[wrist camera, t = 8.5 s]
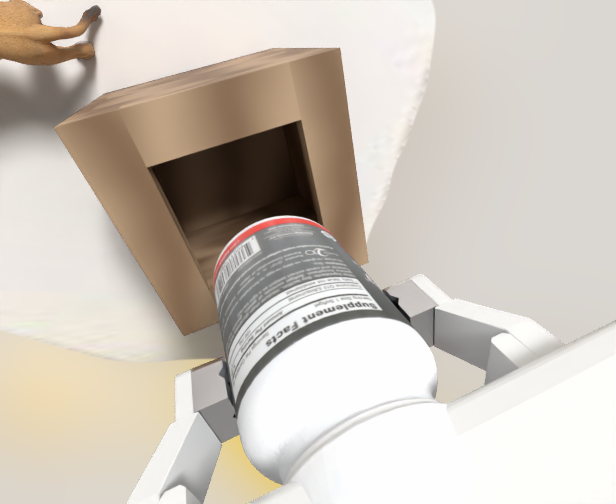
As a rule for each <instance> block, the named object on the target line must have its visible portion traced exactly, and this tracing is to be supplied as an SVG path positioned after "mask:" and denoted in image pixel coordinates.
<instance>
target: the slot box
mask: <svg viewBox="0 0 616 504" xmlns="http://www.w3.org/2000/svg"><path fill="white" fill-rule="evenodd" d="M54 129H55V131H56V132H57V134H58V135H59V137H60V139H61V140H62V142H63V143H64V145H65V147H66V148H67V150H68V151H69V153H70V155H71V156H72V158H73V159H74V161H75V163H76V164H77V166H78V167H79V169H80V171H81V172H82V174H83V175H84V177H85V179H86V180H87V182H88V183H89V185H90V187H91V188H92V190H93V191H94V193H95V195H96V196H97V198H98V199H99V201H100V203H101V204H102V206H103V207H104V209H105V211H106V212H107V214H108V215H109V217H110V219H111V220H112V222H113V223H114V225H115V227H116V228H117V230H118V231H119V233H120V235H121V236H122V238H123V239H124V241H125V243H126V244H127V246H128V247H129V249H130V251H131V252H132V254H133V255H134V257H135V259H136V260H137V262H138V263H139V265H140V267H141V268H142V270H143V271H144V273H145V275H146V276H147V278H148V279H149V281H150V283H151V284H152V286H153V287H154V289H155V291H156V292H157V294H158V295H159V297H160V299H161V300H162V302H163V303H164V305H165V307H166V308H167V310H168V311H169V313H170V315H171V316H172V318H173V319H174V321H175V323H176V324H177V326H178V327H179V329H180V331H181V332H182V334H183V335H184V336H185V335H188V334H190V333H193V332H195V331H198V330H200V329H203V328H205V327H208V326H210V325H213V324H215V323H218V322H219V318H218V313H217V307H216V301H215V296H214V290H213V276H214V270H215V266H216V263H217V260H218V258H219V256H220V254H221V252H222V251H223V249H224V248H225V246H226V245H227V244H228V243H229V242H230V241H231V240H232V239H233V238H234V237H235V236H236V235H237V234H238V233H239V232H241V231H242V230H243V229H245V228H246V227H248V226H250V225H252V224H254V223H256V222H258V221H261V220H264V219H267V218H271V217H276V216H297V217H303V218H307V219H310V220H312V221H314V222H316V223H318V224H320V225H321V226H323V227H324V228H325V229H327V230H328V231H329V232H330V233H331V234H332V235H333V236H334V237H335V238H336V239H337V240H338V241H339V243H340V244H341V245H342V246H343V247H344V248H345V249H346V251H347V252H348V253H349V254H350V255H351V256H352V257H353V258H354V260H355V261H356V262H357V263H358V264H359V265H360V266H361V265H363V264H366V263H368V255H367V247H366V240H365V232H364V225H363V217H362V209H361V202H360V194H359V187H358V179H357V172H356V164H355V157H354V149H353V142H352V134H351V126H350V119H349V111H348V104H347V96H346V89H345V81H344V74H343V66H342V59H341V51H340V48H272V49H269V50H265V51H261V52H257V53H254V54H250V55H246V56H243V57H239V58H235V59H231V60H228V61H224V62H220V63H217V64H213V65H209V66H205V67H202V68H198V69H194V70H191V71H187V72H183V73H179V74H176V75H172V76H168V77H165V78H161V79H157V80H153V81H150V82H146V83H142V84H139V85H135V86H131V87H127V88H124V89H120V90H116V91H113V92H109V93H105V94H103V95H102V96H100V97H99V98H97V99H96V100H94V101H93V102H91V103H90V104H88V105H87V106H85V107H84V108H82V109H81V110H79V111H78V112H76V113H75V114H73V115H72V116H70V117H69V118H67V119H66V120H64V121H63V122H61V123H60V124H58V125H57V126H55V127H54Z"/></svg>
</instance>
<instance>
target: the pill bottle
mask: <svg viewBox="0 0 616 504" xmlns="http://www.w3.org/2000/svg"><path fill="white" fill-rule="evenodd" d="M213 290H214V296H215V301H216V307H217V313H218V318H219V323H220V329H221V334H222V340H223V346H224V351H225V357H226V362H227V368H228V374H229V381H230V386H231V391H232V397H233V403H234V410H235V415H236V420H237V425H238V430H239V435H240V439H241V443H242V446H243V449H244V451H245V453H246V455H247V457H248V459H249V460H250V462H251V463H252V465H253V466H254V467H255V468H256V469H257V470H258V471H259V472H260V473H261V474H263V475H264V476H265V477H267V478H269V479H270V480H272V481H274V482H276V483H279V484H281V485H285V484H287V483H289V482H292V481H295V482H298V483H299V484H300V485H301V486H302V487H303V489H304V491H305V493H306V494H307V496H308V498H309V499H310V501H311V503H312V504H381V503H383V502H385V501H387V500H389V499H391V498H393V497H395V496H397V495H399V494H401V493H403V492H405V491H407V490H409V489H411V488H413V487H414V486H416V485H418V484H420V483H422V482H424V481H426V480H428V479H430V478H432V477H434V476H436V475H438V474H440V473H442V472H443V471H445V470H447V469H449V468H451V467H453V466H455V465H457V464H459V463H461V462H463V461H464V460H465V459H466V458H467V457H468V454H467V450H466V449H465V447H464V446H463V444H462V443H461V441H460V440H459V439H458V437H457V435H456V433H455V430H454V427H453V425H452V423H451V421H450V418H449V416H448V414H447V411H446V406H447V404H444V403H442V402H439V401H437V400H435V396H436V391H437V382H438V381H437V369H436V363H435V360H434V357H433V355H432V353H431V351H430V349H429V347H428V345H427V344H426V342H425V341H424V339H423V338H422V337H421V336H420V334H419V333H418V331H417V330H416V329H415V328H414V327H413V326H412V325H411V324H410V322H409V321H408V320H407V319H406V318H405V317H404V316H403V315H402V313H401V312H400V311H399V310H398V309H397V308H396V307H395V305H394V304H393V303H392V302H391V301H390V300H389V299H388V297H387V296H386V295H385V294H384V293H383V292H382V291H381V290H380V288H379V287H378V286H377V285H376V284H375V283H374V282H373V280H372V279H371V278H370V277H369V276H368V275H367V274H366V272H365V271H364V270H363V269H362V268H361V267H360V265H359V264H358V263H357V262H356V261H355V260H354V258H353V257H352V256H351V255H350V254H349V253H348V252H347V251H346V249H345V248H344V247H343V246H342V245H341V244H340V243H339V241H338V240H337V239H336V238H335V237H334V236H333V235H332V234H331V233H330V232H329V231H328V230H327V229H325V228H324V227H323V226H321V225H320V224H318V223H316V222H314V221H312V220H310V219H307V218H303V217H297V216H276V217H271V218H267V219H264V220H261V221H258V222H256V223H254V224H252V225H250V226H248V227H246V228H245V229H243V230H242V231H241V232H239V233H238V234H237V235H236V236H235V237H234V238H233V239H232V240H231V241H230V242H229V243H228V244H227V245H226V246H225V248H224V249H223V251H222V252H221V254H220V256H219V258H218V260H217V263H216V266H215V270H214V276H213Z"/></svg>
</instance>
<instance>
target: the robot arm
mask: <svg viewBox="0 0 616 504" xmlns="http://www.w3.org/2000/svg"><path fill="white" fill-rule="evenodd" d="M382 292H383V293H384V294H385V295H386V296H387V297H388V299H389V300H390V301H391V302H392V303H393V304H394V305H395V307H396V308H397V309H398V310H399V311H400V312H401V313H402V315H403V316H404V317H405V318H406V319H407V320H408V321H409V322H410V324H411V325H412V326H413V327H414V328H415V329H416V330H417V331H418V333H419V334H420V336H421V337H422V338H423V339H424V341H425V342H426V344H427V345H428V347H431V346H433V345H434V346H435V347H437V348H439V349H441V350H443V351H445V352H447V353H449V354H452V355H454V356H456V357H458V358H460V359H462V360H464V361H466V362H468V363H470V364H473V365H475V366H477V367H479V368H481V369H483V370H485V371H487V372H486V379H485V385H484V386H482V387H480V388H478V389H476V390H474V391H472V392H470V393H468V394H466V395H464V396H462V397H460V398H458V399H456V400H454V401H452V402H450V403H448V404H447V406H446V411H447V414H448V416H449V418H450V421H451V423H452V425H453V427H454V430H455V433H456V435H457V437H458V439H459V440H460V441H461V443H462V444H463V446H464V447H465V449H466V450H467V454H468V457H467V458H466V459H465V460H464V461H463V462H461V463H459V464H457V465H455V466H453V467H451V468H449V469H447V470H445V471H443V472H442V473H440V474H438V475H436V476H434V477H432V478H430V479H428V480H426V481H424V482H422V483H420V484H418V485H416V486H414V487H413V488H411V489H409V490H407V491H405V492H403V493H401V494H399V495H397V496H395V497H393V498H391V499H389V500H387V501H385V502H383V503H381V504H616V320H615V321H613V322H611V323H609V324H607V325H605V326H603V327H601V328H599V329H597V330H595V331H593V332H591V333H589V334H587V335H585V336H583V337H581V338H579V339H577V340H575V341H573V342H571V343H569V344H567V345H565V344H564V343H562V342H561V341H560V340H558V339H557V338H556V337H555V336H553V335H552V334H551V333H549V332H547V330H545V329H544V328H543V327H541V326H540V325H538V324H537V323H536V322H534V321H533V320H532V319H530V318H527V317H523V316H519V315H516V314H512V313H508V312H505V311H501V310H497V309H493V308H490V307H486V306H482V305H479V304H474V303H471V302H468V301H464V300H460V299H457V298H456V299H453V300H452V299H451V298H450V297H448V296H447V295H446V294H445V293H444V292H443V291H442V290H440V289H439V288H438V287H437V286H436V285H435V284H434V283H432V282H431V281H430V280H429V279H428V278H426V277H425V276H424V275H423V274H418V275H416V276H414V277H411V278H409V279H407V280H404V281H401V282H399V283H397V284H395V285H392V286H390V287H388V288H385V289H383V290H382ZM237 435H239V430H238V425H237V420H236V415H235V410H234V403H233V397H232V391H231V386H230V381H229V374H228V368H227V362H226V361H225V359H224V357H221V358H218V359H215V360H213V361H210V362H208V363H205V364H203V365H200V366H198V367H195V368H193V369H191V370H188V371H185V372H183V373H181V374H178V375H176V378H175V422H173V423H171V424H170V426H169V427H168V429H167V431H166V432H165V434H164V436H163V438H162V440H161V442H160V444H159V445H158V447H157V449H156V451H155V452H154V454H153V456H152V458H151V460H150V461H149V463H148V465H147V467H146V469H145V470H144V472H143V474H142V476H141V478H140V479H139V481H138V483H137V485H136V487H135V489H134V490H133V492H132V494H131V496H130V498H129V499H128V501H127V503H126V504H203V502H204V499H205V496H206V493H207V490H208V487H209V484H210V481H211V477H212V474H213V471H214V468H215V465H216V462H217V459H218V456H219V453H220V450H221V447H222V444H221V443H223V442H225V441H227V440H229V439H231V438H233V437H235V436H237ZM247 504H312V503H311V501H310V499H309V498H308V496H307V494H306V493H305V491H304V489H303V487H302V486H301V485H300V484H299V483H298V482H295V481H292V482H289V483H287V484H285V485H283V486H281V487H279V488H277V489H275V490H273V491H272V492H269V493H267V494H265V495H263V496H261V497H259V498H257V499H255V500H253V501H251V502H249V503H247Z"/></svg>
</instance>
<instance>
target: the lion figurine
mask: <svg viewBox="0 0 616 504" xmlns="http://www.w3.org/2000/svg"><path fill="white" fill-rule="evenodd" d="M100 13H101V9H100V8H99V6H97V5H95V6H93V7H92V8H90V9H89V10H86V11H85V12H84V13H83V16H82V18H81V20H80V22H79V23H78V24H77V25H75V26H73V27H67V28H65V27H51V26H46V25H43V24H42V23H41V20H40V19H41V18H42V17H43V15H42V12H41V11H40V10H38V9H36V8H34V7H33V6H31V5H30V4H28V3H27V2H25V1H22V0H10V1H9V2H0V60H1V59H7V60H11V61H15V62H19V63H22V64H28V65H54V64H58V63H62V62H65V61H68V60H71V59H75V58H83V59H85V60H88V59H90V58H92V57H93V56H94V55H95V51H94V48H93V46H92V44H91V43H89V42H85V41H80V42H77V43H76V44H74V45H72V46H69V47H60V46H55V45H53V44H52V43H50V42H51V41H56V40H60V39H69V38H74V37H77V36H81V35H82V34H83V33H84V32H85V31H86V30H87V28H88V27H89V25H90V23H91V22H93V21H96V20H97V18H98V16H99V15H100Z"/></svg>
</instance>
